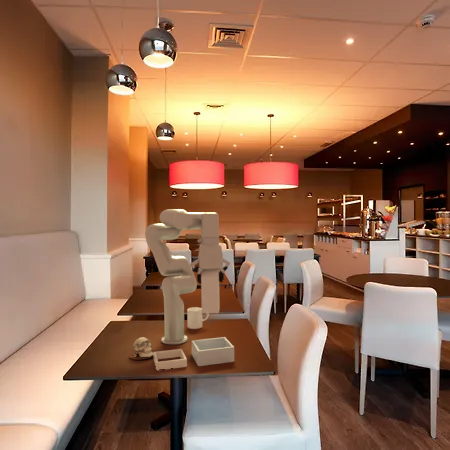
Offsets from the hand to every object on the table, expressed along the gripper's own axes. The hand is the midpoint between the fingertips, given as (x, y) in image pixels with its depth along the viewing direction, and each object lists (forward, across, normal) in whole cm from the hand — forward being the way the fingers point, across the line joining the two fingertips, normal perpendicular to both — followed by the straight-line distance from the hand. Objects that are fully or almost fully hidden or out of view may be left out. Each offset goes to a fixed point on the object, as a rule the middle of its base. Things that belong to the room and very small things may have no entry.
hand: (210, 282), depth 148 cm
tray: (+32, -18, 0) cm, 37 cm away
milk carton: (+12, 0, 0) cm, 12 cm away
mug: (+32, +4, +45) cm, 56 cm away
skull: (+33, -28, +12) cm, 44 cm away
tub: (+32, 0, 0) cm, 32 cm away
